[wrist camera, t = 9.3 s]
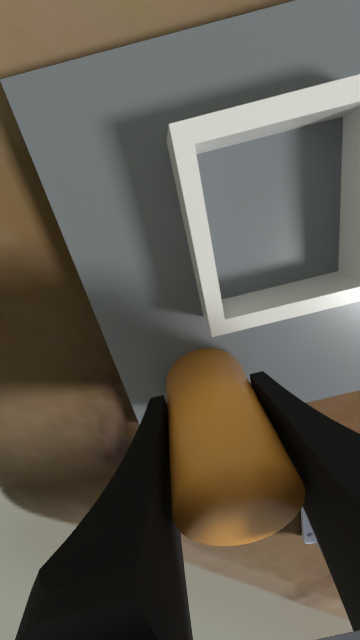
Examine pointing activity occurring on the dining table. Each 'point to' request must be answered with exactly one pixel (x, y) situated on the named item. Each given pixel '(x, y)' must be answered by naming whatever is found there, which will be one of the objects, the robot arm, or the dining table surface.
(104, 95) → the panel
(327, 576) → the dining table surface
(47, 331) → the dining table surface
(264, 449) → the cap
